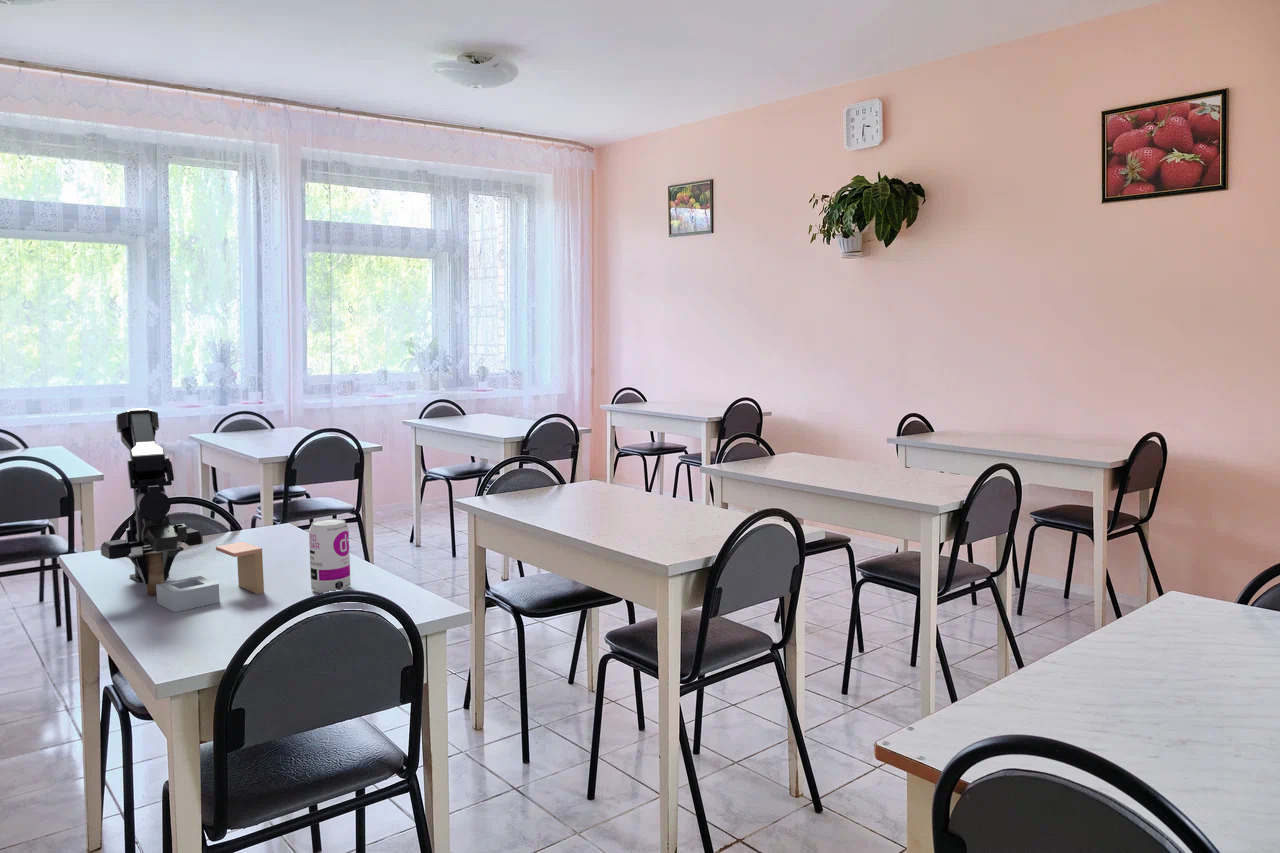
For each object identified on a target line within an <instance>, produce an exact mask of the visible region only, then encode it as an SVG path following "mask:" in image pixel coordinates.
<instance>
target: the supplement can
mask: <svg viewBox="0 0 1280 853" xmlns="http://www.w3.org/2000/svg"><path fill="white" fill-rule="evenodd" d="M349 531H350V530H349V526H348V524H347V523H346V520H345V519H341V518H325V519H324V518H323V519H319V520H314V521H312V522H311V525H310V527H309V529H308V538H309V539H308V541H309V545H308V546H309V560H310V561H309V567H310V587H311V590H312V591H313V592H314V593H316V594H320V593H324V592H329V591H336V590H345V591H347V590H348V589H349V588H350V586H351V565H350V564H351V563H350V562H351V561H350V560H351V559H350V558H351V557H350V537H349V536H350V534H349V533H350V532H349ZM346 589H347V590H346ZM317 592H318V593H317Z"/></svg>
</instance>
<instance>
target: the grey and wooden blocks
mask: <svg viewBox="0 0 1280 853" xmlns="http://www.w3.org/2000/svg"><path fill="white" fill-rule="evenodd" d="M215 551H217V552H220V553H222V554H225V555H228V556H230V557H233V558H236V559H237V578H238V587H240V588H243V589H245V590H247V591H250V593H251V592H252V593H254V594H256V595H260V594H264V593H265V583H264V564H263V563H264V562H263V548H262V547H260V546H256V545H254V544H251V543H249V542H245V541H241V542H233V543H229V544H223V545H217V546H215ZM156 590H157V596H156V602H157V603H156V604H158V605H159V606H162V607H163V608H165V609H168V610H169V611H170V612H173V613H178V612H182V611H183V612H184V611H186V610H191V609H195V607H197V608H200V606H201V607H204V606H205V605H206V606H210V605H213V604H218V603H220V601H221V600H220V599H221V598H220V583H219V582H215V581H213V580H211V579H209V578H207V577H204V576H202V575H198V576H194V577H189V578H183V579H179V580H174V581H168V582H164V583H162V584H157V585H156ZM209 604H210V605H209Z"/></svg>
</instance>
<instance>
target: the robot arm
mask: <svg viewBox="0 0 1280 853" xmlns="http://www.w3.org/2000/svg"><path fill="white" fill-rule="evenodd" d="M115 422H116V433H118V434H119V433H120V440H121V442H122V444H123V445H124V446H125V448H127V449H128V451H129V457H130V459H127V461H126V462H127V474H128V482H129V487H130V490H133V502H134V510H133V512H132V514H131V516H130V518H129V519H128V520H129V521H128V527H127V528H125V539H120V538H119V539H115V540H108V541H103V542H102V544H101V546H100V553H101V554H100V556H103V557H104V558H106V559H109V560H117V559H122V558H127V559H128V560H130V561H131V562H132V564H133V565H134V573H132V574H129V578H131V579H132V580H135V581H137V582H140V583H141V582H143V584H144V585H146V586H147V584H148V574H147V567H146V557H147V555H145V553H147V552H152V551H156V552H160V551H162V552H163V566H164V582H166V581H167V580H168V577H170V571H171V569H172V566H173V565H172V564H173V563H174V560H175V558H176V556H178V554H179V553H180V552H183V551H184V550H185V548H184V547H182V543H184V544H185V545H187V546H189V547H192V546H197V545H202V544H204V539H203V533H202V532H201V531H199V530H197V529H194V528H191V527H190V528H187V525H186V524H185V523H179V524H175V525H172V524H171V522H170V516H169V515H167V514H168V513H169V512H170V511H171V500H170V498H169V497H168V496H167V494H166V489H165V487H166V486H173V483H172V481H173V482H174V481H175V480H174V479H175V476H174V470H173V463H172V461H171V460H170V458H169V456H166V455H165V451H164V448H163V447H162V446H160V445H158V444H156V439H155V438H156V433H157V431H158V430H159V429H160V423H159V413H158V412H156V411H153V410H152V409H151V408H147V407H145V408H143V407H142V408H129V409H126V411H125V412H124V411H123V412H120V413H118V414H116V420H115Z"/></svg>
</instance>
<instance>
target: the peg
mask: <svg viewBox="0 0 1280 853" xmlns="http://www.w3.org/2000/svg"><path fill="white" fill-rule="evenodd" d="M145 555H147V557H146V567H147V574H148V584H147V585H146V595H147V596H148V597H157V590H156V585H157V584H162V583H165V581H164V566H163V552H162V551H160V552H156V551H152V552H147V553H145Z"/></svg>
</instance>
